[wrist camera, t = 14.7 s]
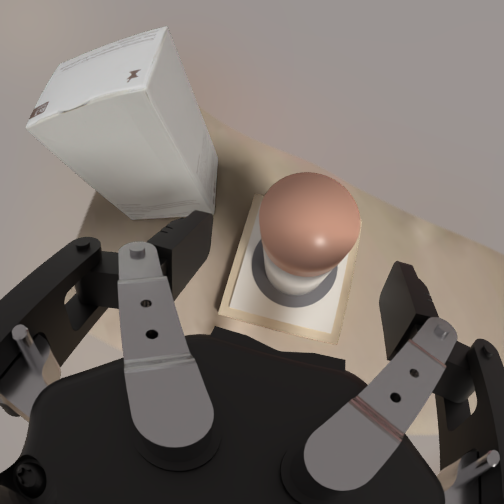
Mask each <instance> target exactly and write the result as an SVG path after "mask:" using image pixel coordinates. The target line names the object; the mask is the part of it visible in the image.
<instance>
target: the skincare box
mask: <svg viewBox="0 0 504 504" xmlns="http://www.w3.org/2000/svg"><path fill="white" fill-rule="evenodd" d="M26 130H27V131H28V132H29V133H31V134H32V135H33V136H34V137H35V138H36V139H37V140H38V141H40V143H42V144H43V145H44V146H45V147H46V148H47V149H48V150H49V151H51V152H52V153H53V154H54V155H55V156H56V157H57V158H59V159H60V160H61V161H62V162H63V163H64V164H65V165H67V166H68V167H69V168H70V169H71V170H72V171H74V172H75V173H76V174H77V175H78V176H79V177H81V178H82V179H83V180H84V181H85V182H87V183H88V184H89V185H90V186H91V187H93V188H94V189H95V190H96V191H97V192H99V193H100V194H101V195H102V196H103V197H105V198H106V199H107V200H108V201H109V202H111V203H112V204H113V205H114V206H116V207H117V208H118V209H119V210H121V211H122V212H123V213H124V214H126V215H127V216H128V217H129V218H130V219H131V220H136V219H152V218H169V217H186V216H188V215H189V214H191V213H192V212H193V211H194V210H198V211H203V212H207V213H212V215H214V211H215V197H216V182H217V167H218V157H217V154H216V151H215V148H214V146H213V143H212V140H211V138H210V135H209V133H208V130H207V127H206V125H205V122H204V120H203V117H202V115H201V112H200V109H199V107H198V104H197V102H196V99H195V96H194V93H193V91H192V88H191V86H190V83H189V80H188V78H187V75H186V72H185V70H184V67H183V65H182V62H181V60H180V57H179V54H178V52H177V49H176V47H175V44H174V42H173V40H172V37H171V34H170V32H169V29H168V27H167V26H165V27H161V28H157V29H153V30H150V31H146V32H143V33H140V34H136V35H133V36H130V37H127V38H124V39H121V40H118V41H116V42H113V43H110V44H107V45H104V46H102V47H99V48H96V49H94V50H91V51H89V52H86V53H84V54H82V55H79V56H77V57H75V58H72V59H70V60H68V61H65V62H63V63H61V64H59V66H58V68H57V69H56V70H55V72H54V73H53V75H52V77H51V78H50V80H49V82H48V84H47V85H46V87H45V89H44V91H43V93H42V95H41V96H40V98H39V100H38V102H37V104H36V106H35V108H34V110H33V112H32V114H31V117H30V118H29V121H28V123H27V125H26Z"/></svg>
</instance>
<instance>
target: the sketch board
mask: <svg viewBox="0 0 504 504" xmlns="http://www.w3.org/2000/svg"><path fill="white" fill-rule="evenodd" d="M263 198H264V195H260V194H255V195H254V198H253V201H252V204H251V207H250V211H249V214H248V217H247V220H246V223H245V227H244V230H243V233H242V236H241V240H240V243H239V246H238V249H237V252H236V256H235V259H234V262H233V266H232V269H231V272H230V275H229V279H228V282H227V285H226V289H225V292H224V295H223V298H222V302H221V305H220V308H219V312H218V314H220V315H223V316H226V317H230V318H233V319H236V320H240V321H243V322H247V323H251V324H254V325H258V326H262V327H265V328H269V329H273V330H277V331H280V332H284V333H288V334H292V335H296V336H300V337H304V338H309V339H313V340H317V341H321V342H326V343H330V344H335V345H337V344H338V340H339V336H340V332H341V328H342V323H343V319H344V315H345V311H346V306H347V302H348V297H349V292H350V287H351V283H352V277H353V272H354V267H355V262H356V256H357V250H358V244H359V238H360V232H361V225H362V220H360V232H359V236H358V239H357V241H356V243H355V245H354V246H353V248H352V249H351V250H350V252H349V253H348V254H347V255H346V256H345V257H344V259H343V260H342V261H341V262H340V263H339V264H338V265H337V266H336V267H335V268H334V269H333V270H332V271H331V272H330V273H329V274H328V275H327V277H326V278H325V279H324V280H323V281H322V282H321V283H320V284H319V286H318V287H317V288H315V289H314V290H313V291H311V292H309V293H307V294H304V295H300V296H291V295H287V294H284V293H282V292H280V291H278V290H277V289H276V288H275V287H274V286H273V285H272V284H271V283H270V281H269V280H268V278H267V275H266V271H265V263H264V253H263V244H262V240H261V234H260V225H259V210H260V206H261V202H262V200H263Z"/></svg>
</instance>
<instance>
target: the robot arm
mask: <svg viewBox="0 0 504 504" xmlns="http://www.w3.org/2000/svg"><path fill="white" fill-rule="evenodd" d="M212 224H213V215H212V213H207V212H203V211H198V210H194V211H193V212H192V213H191V214H189V215H188V216H187V217H186V218H180V219H177V220H174V221H172V222H171V223H169V224H168V225H167V226H166V227H164V228H163V229H162V230H161V231H159V232H158V233H157V234H156V235H154V236H153V237H152V238H151V239H149V240H148V241H147V242H131V243H128V244H125V245H124V246H122V247H121V248H120V249H119V253H116V252H104V251H101V243H100V241H99V240H98V239H96V238H92V237H83V238H79V239H76V240H73V241H72V242H71V243H69V244H68V245H66V246H65V247H64V248H62V249H61V250H60V251H59V252H57V253H56V254H54V255H53V256H52V257H51V258H49V259H48V260H47V261H46V262H44V263H43V264H42V265H41V266H39V267H38V268H37V269H36V270H34V271H33V272H32V273H31V274H30V275H28V276H27V277H26V278H25V279H24V280H22V281H21V282H20V283H19V284H18V285H17V286H16V287H14V288H13V289H12V290H11V291H10V292H9V293H8V294H7V295H5V296H4V297H3V298H2V299H1V300H0V406H1V407H2V408H3V409H4V410H5V411H6V412H7V413H8V414H9V415H11V416H15V417H18V416H21V417H23V418H24V419H25V420H26V421H27V422H29V427H28V432H27V437H26V441H25V445H24V447H23V450H22V453H21V455H20V457H19V458H18V460H17V461H16V462H15V463H14V464H13V465H12V466H10V467H9V468H8V469H6V470H5V471H3V472H2V473H0V504H504V367H503V364H502V361H501V358H500V356H499V353H498V351H497V350H496V348H495V347H494V346H493V345H492V344H491V343H490V342H488V341H486V340H484V339H477V340H476V341H475V342H474V343H473V345H472V346H471V347H468V346H466V345H464V344H462V343H460V342H458V341H457V333H456V331H455V329H454V328H453V327H452V325H450V324H449V323H448V322H447V321H445V320H443V319H441V318H439V316H438V314H437V311H436V309H435V306H434V303H433V302H432V299H431V296H429V295H430V294H429V291H428V289H427V287H426V286H425V284H424V283H423V282H422V281H421V280H420V279H418V277H417V275H416V272H415V270H414V268H413V266H412V265H409V264H406V263H402V262H399V261H396V262H395V263H394V265H393V267H392V269H391V271H390V274H389V276H388V278H387V280H386V283H385V285H384V287H383V289H382V292H381V295H380V299H379V307H380V313H381V319H382V325H383V332H384V339H385V346H386V354H387V360H389V361H390V362H389V364H388V365H387V366H386V367H385V368H384V369H383V370H382V371H381V372H380V373H379V374H378V375H377V376H376V377H375V378H374V379H373V381H372V382H371V383H370V384H369V385H367V384H366V383H365V382H364V381H363V380H361V379H360V378H359V377H357V376H356V375H354V374H352V373H350V372H348V371H346V370H345V360H343V359H338V358H334V357H329V356H325V355H320V354H316V353H299V352H281V351H277V350H275V349H273V348H271V347H269V346H267V345H265V344H263V343H261V342H259V341H257V340H255V339H253V338H251V337H249V336H247V335H243V334H240V333H236V332H233V331H230V330H226V329H223V328H220V327H216V326H215V327H214V329H213V331H212V333H211V335H206V334H196V335H187V336H184V333H183V330H182V327H181V324H180V321H179V317H178V314H177V311H176V307H175V304H174V301H175V299H176V298H177V297H178V295H179V294H180V293H181V292H182V290H183V289H184V288H185V286H186V285H187V284H188V282H189V281H190V280H191V278H192V277H193V276H194V275H195V273H196V272H197V271H198V269H199V268H200V267H201V266H202V264H203V263H204V262H205V260H206V259H207V257H208V254H209V251H210V246H211V235H212ZM74 285H75V289H76V294H75V295H74V296H73V297H72V298H71V299H70V300H69V301H68V302H67V303H66V304H64V300H65V296H66V294H67V292H68V291H69V290H70V289H71V288H72V287H73V286H74ZM108 308H117V309H119V316H120V328H121V338H122V348H123V356H124V358H121V359H118V360H115V361H112V362H110V363H107V364H104V365H101V366H98V367H95V368H92V369H89V370H86V371H83V372H80V373H77V374H74V375H71V376H68V377H65V378H62V379H60V376H61V369H60V367H61V366H62V365H63V363H64V362H65V361H66V359H67V358H68V357H69V355H70V354H71V353H72V352H73V350H74V349H75V348H76V347H77V345H78V344H79V343H80V341H81V340H82V339H83V338H84V337H85V335H86V334H87V333H88V332H89V330H90V329H91V328H92V327H93V325H94V324H95V323H96V322H97V321H98V319H99V318H100V317H101V316H102V315H103V313H104V312H105V311H106V310H107V309H108ZM474 391H475V392H476V396H477V407H476V409H475V411H474V413H473V414H472V415H471V413H470V408H469V402H468V397H469V396H470V395H471V394H472V393H473V392H474ZM431 393H434V394H435V398H436V407H437V417H438V428H439V444H440V473H439V474H438V476H436V475H435V474H434V472H433V471H432V469H431V468H430V467H429V465H428V464H427V463H426V461H425V460H424V459H423V458H422V456H421V455H420V453H419V452H418V451H417V449H416V448H415V446H414V445H413V444H412V442H411V441H410V440H409V438H408V437H407V436H406V434H405V432H406V431H407V429H408V428H409V427H410V425H411V424H412V422H413V421H414V419H415V418H416V417H417V415H418V414H419V412H420V411H421V409H422V407H423V406H424V404H425V403H426V401H427V400H428V398H429V396H430V395H431Z"/></svg>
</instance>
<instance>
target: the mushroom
mask: <svg viewBox="0 0 504 504" xmlns="http://www.w3.org/2000/svg"><path fill="white" fill-rule="evenodd" d="M259 225H260V234H261V240H262V244H263V253H264V263H265V271H266V275H267V278H268V280H269V281H270V283H271V284H272V285H273V286H274V287H275V288H276V289H277V290H278V291H280V292H282V293H284V294H287V295H291V296H300V295H304V294H307V293H309V292H311V291H313V290H314V289H315V288H317V287H318V286H319V284H320V283H321V282H322V281H323V280H324V279H325V278H326V277H327V275H328V274H329V273H330V272H331V271H332V270H333V269H334V268H335V267H336V266H337V265H338V264H339V263H340V262H341V261H342V260H343V259H344V257H345V256H346V255H347V254H348V253H349V252H350V250H351V249H352V248H353V246H354V245H355V243H356V241H357V239H358V236H359V232H360V214H359V210H358V207H357V204H356V202H355V200H354V198H353V197H352V195H351V194H350V193H349V192H348V190H347V189H346V188H345V187H344V186H342V185H341V184H340V183H339V182H337V181H335V180H334V179H332V178H330V177H328V176H325V175H322V174H317V173H310V172H304V173H296V174H292V175H289V176H286V177H284V178H282V179H281V180H279V181H278V182H276V183H275V184H274V185H273V186H272V187H271V188H270V189H269V190H268V191H267V193H266V194H265V196H264V198H263V200H262V202H261V206H260V210H259Z"/></svg>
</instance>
